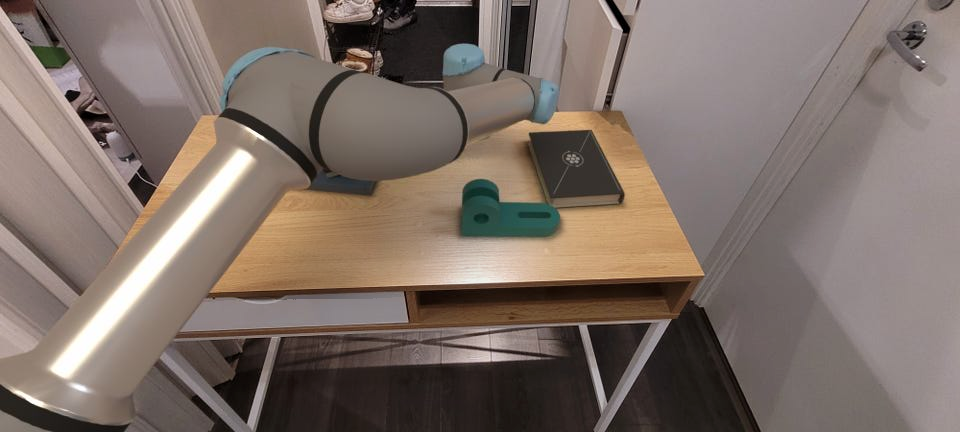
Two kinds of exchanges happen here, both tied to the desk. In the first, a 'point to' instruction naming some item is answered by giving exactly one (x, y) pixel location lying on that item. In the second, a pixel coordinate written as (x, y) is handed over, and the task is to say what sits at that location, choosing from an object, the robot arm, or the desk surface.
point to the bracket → (503, 214)
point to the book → (574, 169)
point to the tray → (341, 184)
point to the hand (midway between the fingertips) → (292, 142)
